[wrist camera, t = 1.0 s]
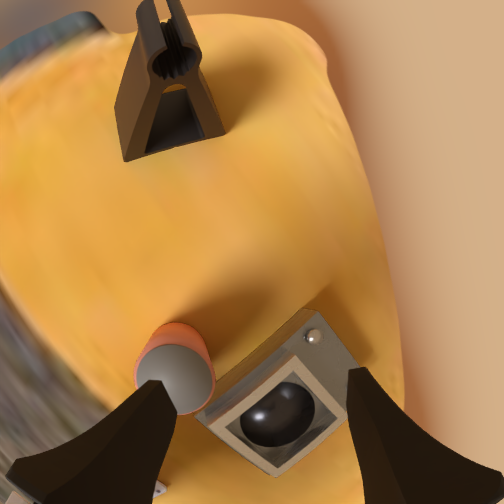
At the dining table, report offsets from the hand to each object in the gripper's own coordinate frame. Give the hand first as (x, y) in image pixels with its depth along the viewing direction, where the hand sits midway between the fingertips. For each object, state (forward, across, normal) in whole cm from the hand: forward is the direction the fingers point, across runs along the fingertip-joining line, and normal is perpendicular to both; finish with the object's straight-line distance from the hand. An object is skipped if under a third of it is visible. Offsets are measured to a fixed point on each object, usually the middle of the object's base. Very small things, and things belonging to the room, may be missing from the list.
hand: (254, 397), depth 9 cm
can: (+9, +8, +4) cm, 12 cm away
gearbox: (+10, 0, +10) cm, 14 cm away
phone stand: (+16, +7, -14) cm, 22 cm away
